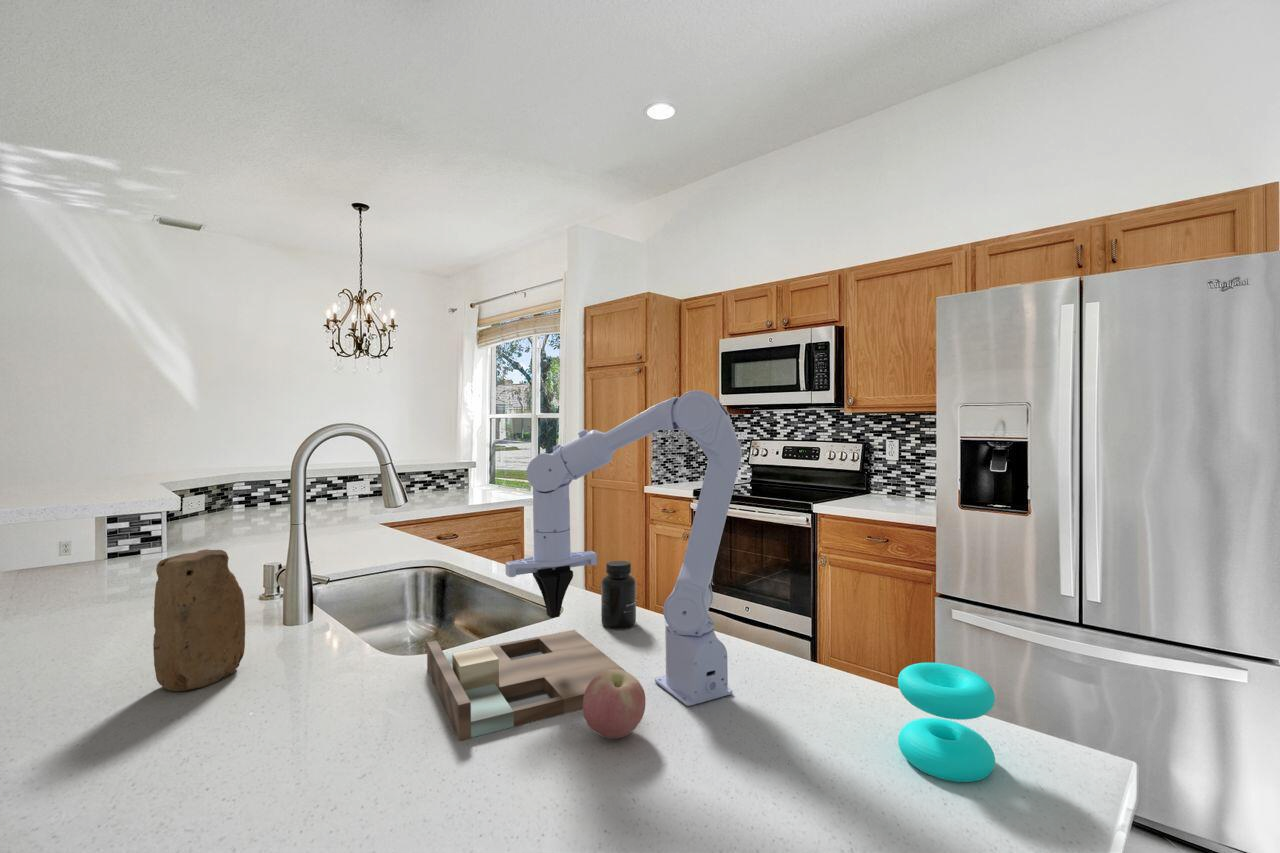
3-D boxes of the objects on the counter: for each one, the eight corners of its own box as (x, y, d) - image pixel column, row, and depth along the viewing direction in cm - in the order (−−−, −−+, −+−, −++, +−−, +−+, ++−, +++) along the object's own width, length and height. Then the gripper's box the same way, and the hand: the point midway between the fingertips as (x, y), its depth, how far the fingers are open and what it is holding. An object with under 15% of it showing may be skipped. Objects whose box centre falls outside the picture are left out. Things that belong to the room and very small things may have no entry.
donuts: (1005, 675, 69) (978, 704, 62) (1006, 761, 69) (979, 800, 62) (916, 652, 76) (883, 676, 69) (917, 730, 76) (884, 761, 69)
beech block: (499, 682, 87) (498, 658, 87) (460, 691, 84) (460, 666, 84) (489, 669, 92) (489, 646, 91) (452, 676, 89) (452, 653, 89)
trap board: (638, 694, 87) (637, 663, 87) (459, 740, 75) (458, 705, 75) (574, 640, 108) (574, 616, 108) (427, 669, 96) (426, 642, 96)
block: (176, 698, 87) (173, 562, 87) (149, 689, 90) (146, 557, 90) (252, 670, 97) (250, 547, 97) (225, 662, 100) (223, 543, 100)
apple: (589, 757, 71) (588, 690, 71) (578, 725, 78) (577, 664, 78) (652, 746, 73) (652, 681, 73) (636, 717, 80) (636, 657, 80)
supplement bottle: (635, 630, 114) (635, 567, 114) (600, 630, 114) (599, 567, 114) (636, 618, 121) (636, 558, 120) (603, 618, 121) (602, 559, 121)
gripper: (584, 521, 101) (585, 601, 101) (499, 530, 94) (500, 616, 94) (601, 527, 95) (603, 613, 95) (512, 537, 88) (514, 629, 88)
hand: (553, 615), depth 94 cm, fingers closed
